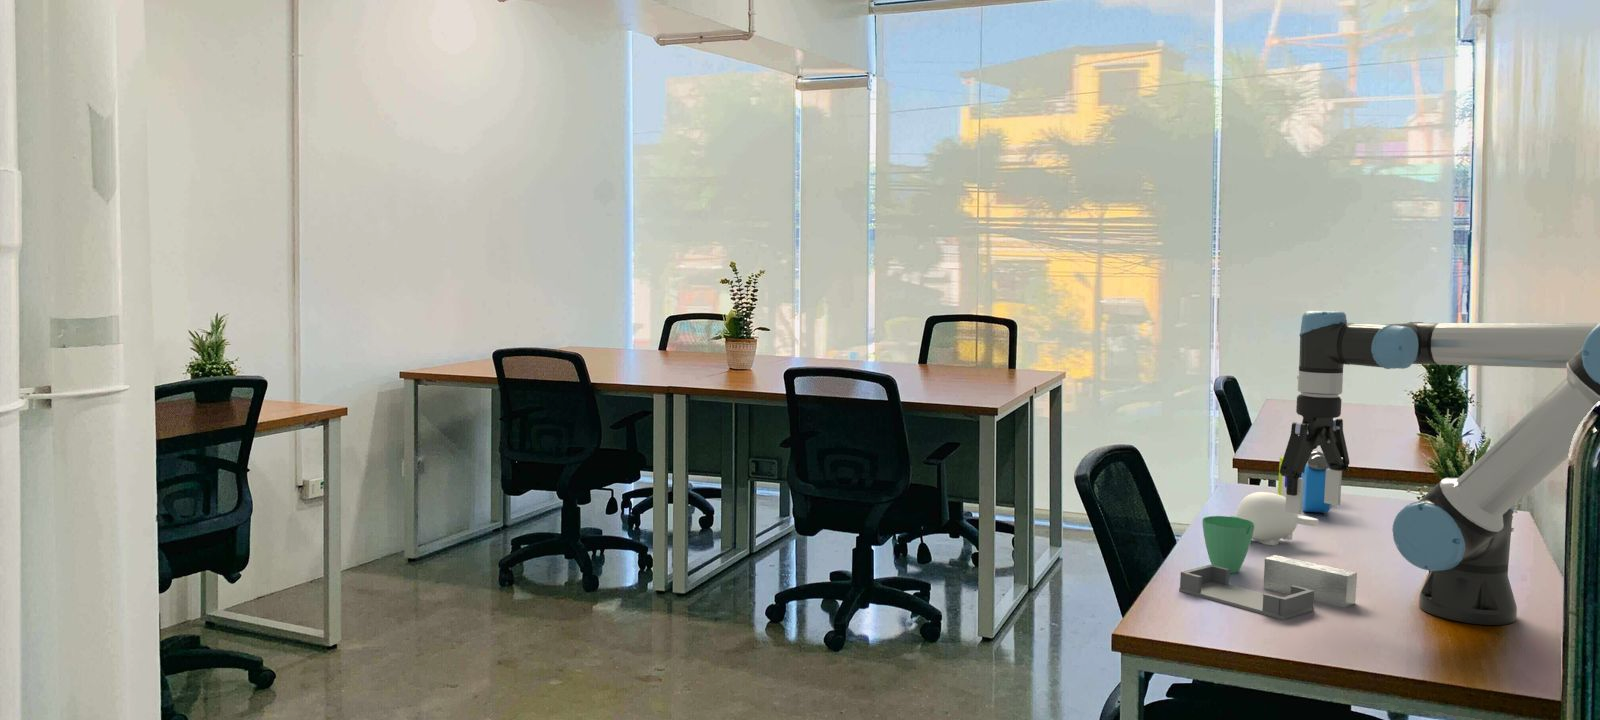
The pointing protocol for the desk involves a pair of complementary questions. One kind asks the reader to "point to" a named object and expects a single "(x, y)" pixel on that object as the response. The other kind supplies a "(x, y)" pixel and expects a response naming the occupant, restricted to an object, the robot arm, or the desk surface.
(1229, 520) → the mug
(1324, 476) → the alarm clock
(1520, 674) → the desk surface
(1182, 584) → the end caps
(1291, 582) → the white rectangular block
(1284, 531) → the piggy bank
